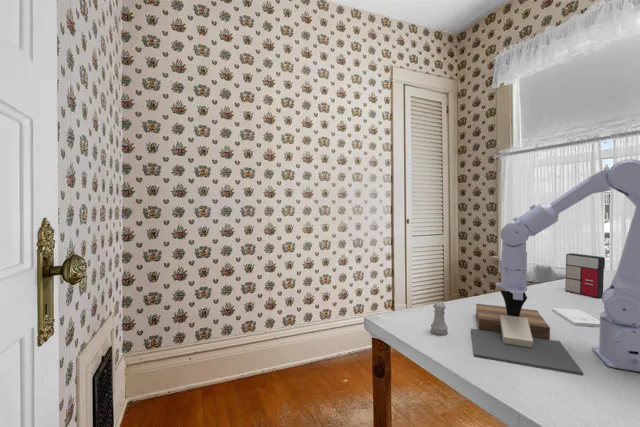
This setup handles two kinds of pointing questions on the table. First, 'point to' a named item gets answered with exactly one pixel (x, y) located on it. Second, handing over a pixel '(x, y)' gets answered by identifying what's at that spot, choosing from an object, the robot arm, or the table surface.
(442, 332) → the rook chess piece
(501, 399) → the table surface
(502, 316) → the ivory tile
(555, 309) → the external hard drive
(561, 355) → the rubber mat
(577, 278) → the red and grey box
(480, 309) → the walnut deck
